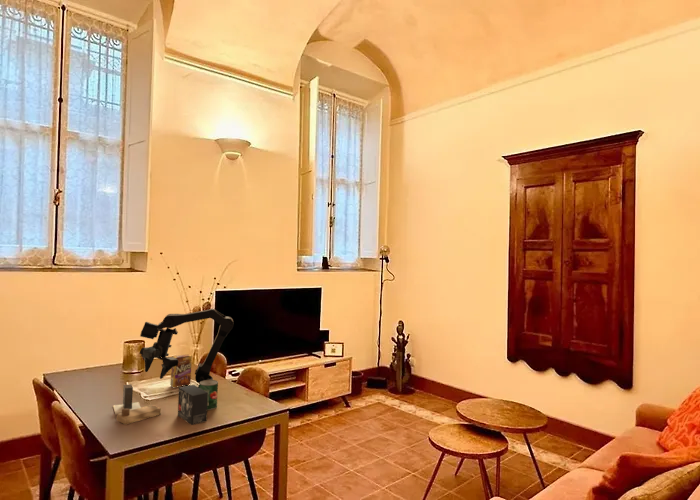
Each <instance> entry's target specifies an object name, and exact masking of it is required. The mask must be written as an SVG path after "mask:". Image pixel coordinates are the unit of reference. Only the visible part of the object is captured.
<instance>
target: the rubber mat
mask: <svg viewBox="0 0 700 500" xmlns="http://www.w3.org/2000/svg"><path fill="white" fill-rule="evenodd" d="M112 406H113V410H114V414H115V415H117V414H119V413H122V409H124V408H123V403H121V404H114V405H112ZM138 408H142V407H141V405H140V402H139V401H137V402H132V409H130V411H131V410H134V409H138Z"/></svg>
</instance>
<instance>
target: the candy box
mask: <svg viewBox="0 0 700 500" xmlns="http://www.w3.org/2000/svg"><path fill="white" fill-rule="evenodd" d="M171 357H173V358H176V359H178V361H179V362H178V366H175V367H172V368H171V369H170V384H169V385H171V386H172V387H177V386H182V385H189V384H190V385H191V377H192V364H193V363H192V361H193V356H192V355H191V354H190V353H189V354H181V355H172V356H171ZM190 385H189V386H190ZM171 386H170V387H171ZM172 387H171V388H172ZM177 388H178V387H177Z"/></svg>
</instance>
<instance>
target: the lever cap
mask: <svg viewBox="0 0 700 500" xmlns="http://www.w3.org/2000/svg"><path fill="white" fill-rule="evenodd" d="M133 389H134V388H133V385H132V384H123V394H122V404H123V408H124V409H132V403H133V391H134V390H133Z"/></svg>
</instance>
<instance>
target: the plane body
mask: <svg viewBox="0 0 700 500" xmlns="http://www.w3.org/2000/svg"><path fill="white" fill-rule="evenodd" d="M161 411H162V408H161V407H158V406H156V405H153V404H149V405H145V406H142V407H141V408H138V409H134V410H131V411H130V409H122V413H119V414H116V421H117V422H119V423H121V424H123V425H129V424H132V423H135V422H139V421H142V420H146V419H149V417H150V418H153V417H156V415H157V416H161V413H162V412H161Z"/></svg>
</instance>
